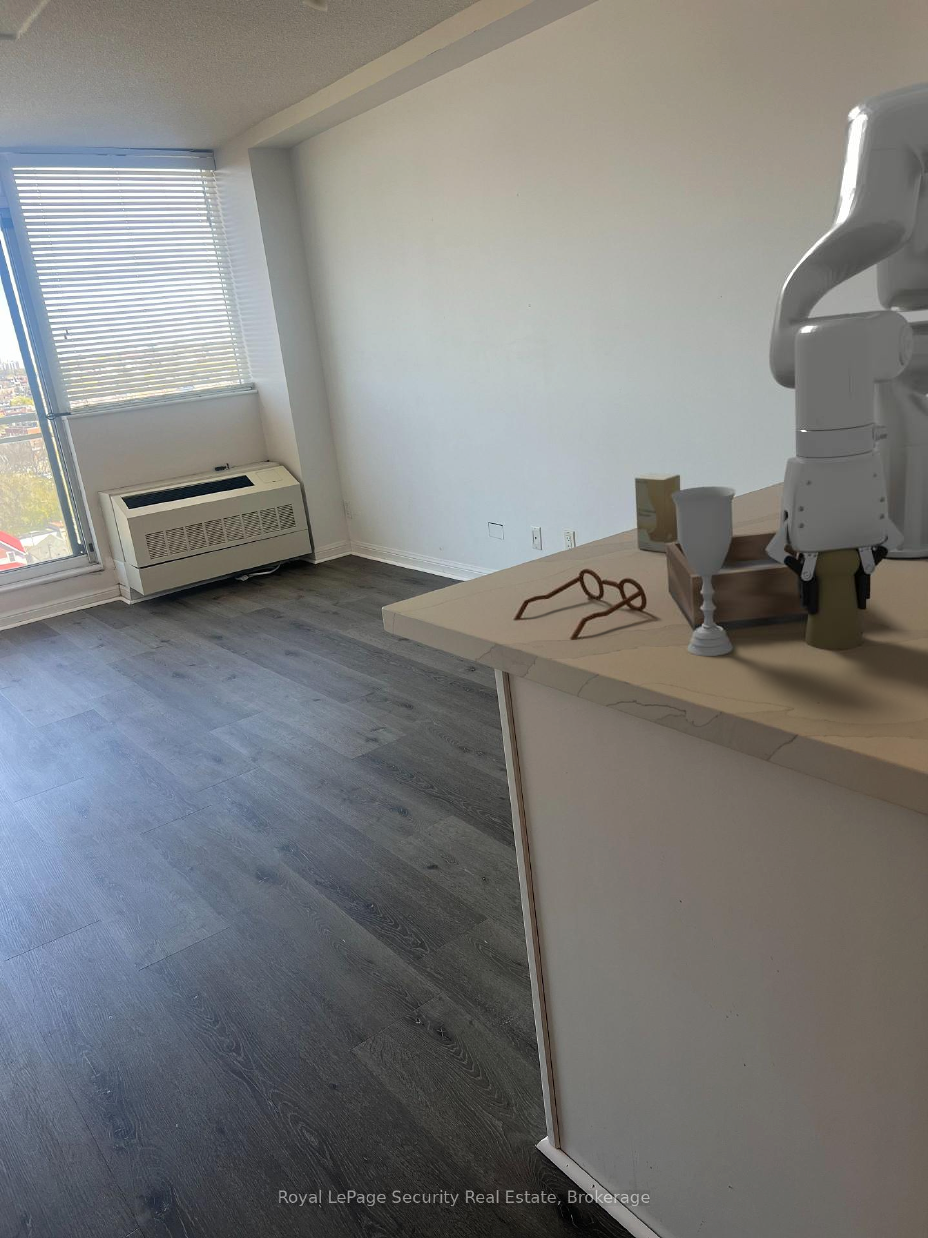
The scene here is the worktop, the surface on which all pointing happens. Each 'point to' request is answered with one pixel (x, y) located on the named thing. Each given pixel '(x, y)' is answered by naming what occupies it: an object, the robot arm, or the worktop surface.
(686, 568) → the wooden box
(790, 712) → the worktop surface
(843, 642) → the cork
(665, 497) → the skincare box
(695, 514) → the chalice
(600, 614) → the glasses
